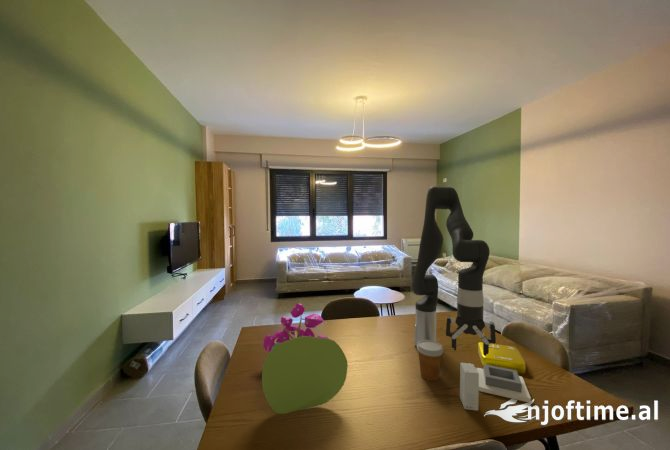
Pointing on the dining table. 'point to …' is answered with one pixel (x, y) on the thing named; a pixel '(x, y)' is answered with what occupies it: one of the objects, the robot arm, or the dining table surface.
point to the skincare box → (469, 386)
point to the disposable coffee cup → (429, 359)
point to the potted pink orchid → (301, 366)
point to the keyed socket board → (502, 383)
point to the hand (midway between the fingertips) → (469, 351)
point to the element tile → (502, 357)
